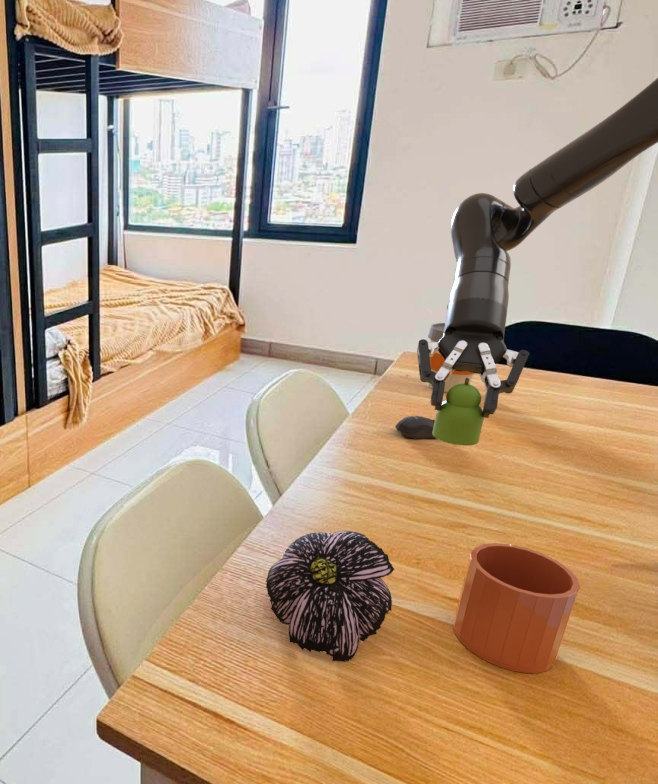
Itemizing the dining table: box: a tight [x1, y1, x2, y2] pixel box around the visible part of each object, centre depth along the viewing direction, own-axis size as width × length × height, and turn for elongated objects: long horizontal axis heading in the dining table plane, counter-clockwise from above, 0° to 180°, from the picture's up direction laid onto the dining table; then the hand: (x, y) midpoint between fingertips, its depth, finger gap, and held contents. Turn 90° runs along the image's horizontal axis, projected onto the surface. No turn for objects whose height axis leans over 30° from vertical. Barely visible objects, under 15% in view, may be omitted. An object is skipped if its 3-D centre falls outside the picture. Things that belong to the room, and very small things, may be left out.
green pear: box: [432, 378, 485, 446], centre depth 89 cm, size 6×6×9 cm
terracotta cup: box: [452, 542, 581, 674], centre depth 71 cm, size 10×10×10 cm
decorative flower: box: [265, 530, 395, 663], centre depth 75 cm, size 14×12×15 cm
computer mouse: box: [394, 415, 436, 440], centre depth 128 cm, size 6×9×4 cm, turn 94°
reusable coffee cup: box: [426, 322, 475, 393], centre depth 154 cm, size 13×13×15 cm
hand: (461, 411), depth 87 cm, fingers closed on green pear, 5 cm apart
